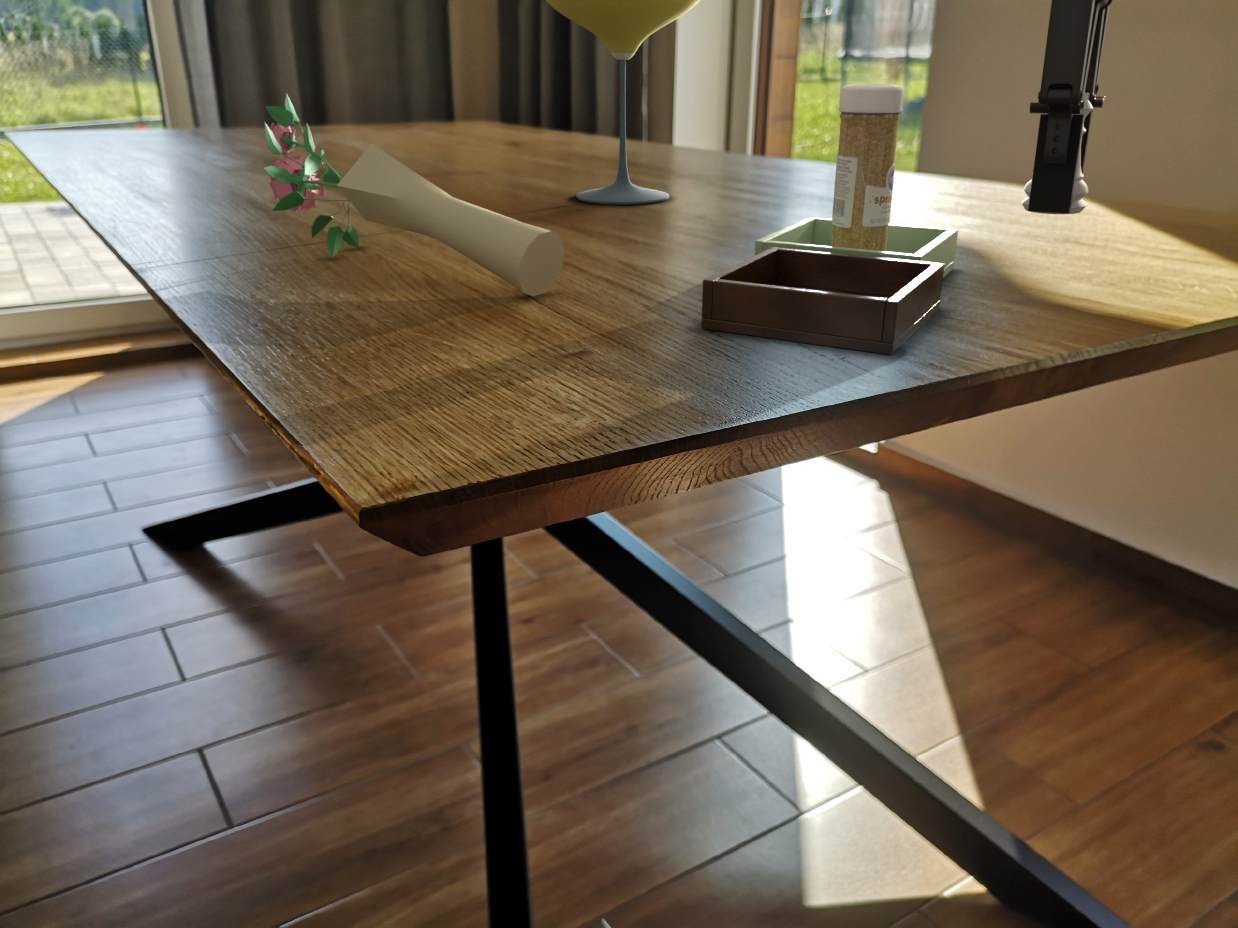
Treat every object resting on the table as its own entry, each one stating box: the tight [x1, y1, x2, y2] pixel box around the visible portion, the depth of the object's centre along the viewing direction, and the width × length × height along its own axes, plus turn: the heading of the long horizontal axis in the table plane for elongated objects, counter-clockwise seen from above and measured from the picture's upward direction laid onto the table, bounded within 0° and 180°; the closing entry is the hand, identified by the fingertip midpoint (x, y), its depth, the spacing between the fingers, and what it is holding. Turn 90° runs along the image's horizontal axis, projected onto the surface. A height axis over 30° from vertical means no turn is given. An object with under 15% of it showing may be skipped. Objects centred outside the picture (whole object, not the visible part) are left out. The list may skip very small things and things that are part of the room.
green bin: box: [754, 216, 959, 278], centre depth 80 cm, size 12×12×3 cm
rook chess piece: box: [1020, 93, 1094, 215], centre depth 73 cm, size 4×4×8 cm
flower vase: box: [262, 93, 566, 297], centre depth 84 cm, size 12×12×35 cm
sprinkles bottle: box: [831, 83, 905, 251], centre depth 78 cm, size 5×5×14 cm
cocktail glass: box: [545, 0, 701, 206], centre depth 115 cm, size 18×18×25 cm
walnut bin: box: [701, 247, 945, 356], centre depth 68 cm, size 12×12×3 cm
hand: (1054, 206), depth 74 cm, fingers closed on rook chess piece, 4 cm apart
